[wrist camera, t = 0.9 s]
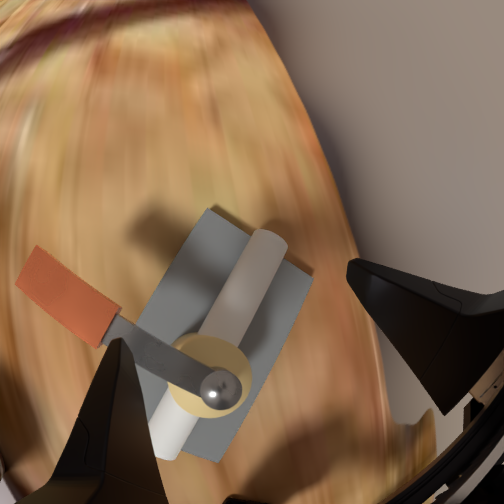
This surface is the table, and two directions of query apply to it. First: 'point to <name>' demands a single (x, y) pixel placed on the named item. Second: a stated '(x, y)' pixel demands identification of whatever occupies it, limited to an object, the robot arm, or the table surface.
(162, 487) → the robot arm
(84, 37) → the table surface
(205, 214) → the valve base
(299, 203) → the table surface
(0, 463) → the food container
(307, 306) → the table surface
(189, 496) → the table surface
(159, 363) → the valve lever
